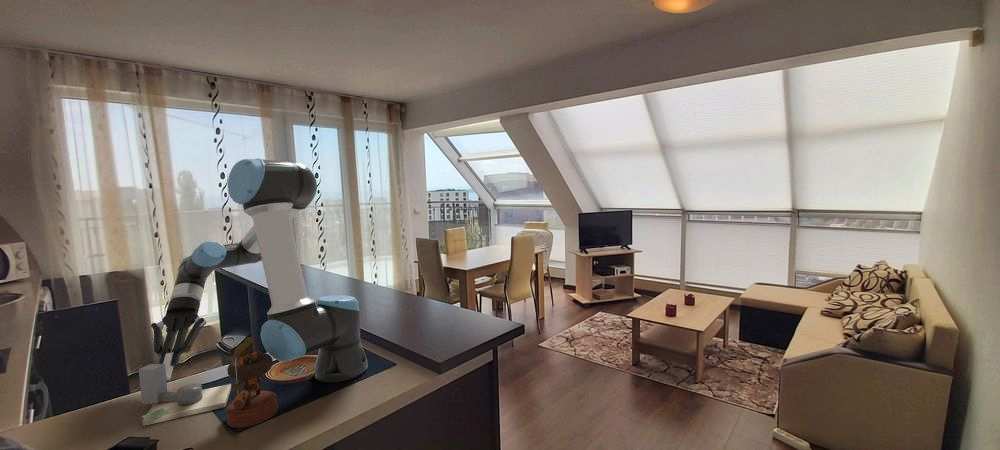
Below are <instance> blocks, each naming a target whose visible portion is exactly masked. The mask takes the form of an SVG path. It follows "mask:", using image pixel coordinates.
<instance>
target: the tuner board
mask: <svg viewBox="0 0 1000 450" xmlns="http://www.w3.org/2000/svg"><path fill="white" fill-rule="evenodd" d="M231 390H232V383H228V384H223V385H219V386H215V387H209V388H205V389H202V395H203V398H202V399H201V400H199V401H198V402H195V403H193V404H190V405H184V406H180V405H178V401H163V402H159V403H150V405H151V408H150V409H149V410H148V412H147V413H146V414H145V415H142V416H141V418H143V419H142V426H143V427H145V425H146V426H149V425H152V424H157V423H162V422H167V421H170V420H174V419H179V418H184V417H188V416H192V415H196V414H201V413H205V412H209V411H213V410H214V411H215V410H219V409H223V408H226V407H227V403H228V400H229V396H230V393H231Z"/></svg>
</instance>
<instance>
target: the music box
mask: <svg viewBox="0 0 1000 450" xmlns="http://www.w3.org/2000/svg"><path fill="white" fill-rule="evenodd" d="M256 343H257V342H256V338H254V336H249V337H246V338H245V339H244V341H243V342H242V343H240V344H238V345H236V347H235V348H233V350H232V351H231V352H230V353H229V356H227V357H226V358H224V359H223V361H224V362H226V361H228V362H230V363H229V365H228V366H227V375H228V376H229V378H231V379H232V380H235V381H237V382H235V384H233V385H231V388H232V392H237V394H236V395H235V398H234V399H233V400H232V401H231V402H230V403H229V404H228V405H226V407H225V408H226V409H225V414H226V424H227V425H228V426H229V427H231V428H237V429H238V428H239V429H240V428H249V427H251V426H255V425H258V424H260V423H263V422H265V421H267V420H268V419H270V418H271V417H273V416H274V415H275V414H276V413H277V410H278V399H277V394H275V392H273V391H269V390H261V383H260V382H261V381H262V380H263V379H264V378H265V376H264V375H265V374H267V373H268V372H269V371H270V370H271V368H272V366H273V364H274V361H273V357H272V356H271V355H270V354H269V353H268V352H267V353H266V352H256V351H253V350H254V349H255V345H256ZM252 351H253V352H252ZM251 352H252V353H251ZM242 388H243V389H242ZM240 389H242V390H240ZM239 390H240V392H239Z"/></svg>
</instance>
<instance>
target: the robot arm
mask: <svg viewBox="0 0 1000 450" xmlns="http://www.w3.org/2000/svg"><path fill="white" fill-rule="evenodd" d="M317 189H318V183H317V179H316V176H315V175H314V173H313V171H312V170H311V169H310V168H309V167H307V166H306V165H304V164H303V163H300V162H297V161H293V160H292V161H289V160H288V161H286V160H274V159H261V158H254V159H253V158H245V159H240V160H238V161H237V162H236V163H235V164H234V165H233V166H232V167H231V170H230V172H229V174H228V179H227V191H228V192H227V193H228V196H229V197H230V199H231V200H232V201H233V202H234V203H235V204H238V205H242V209H243V212H244V214H246V215H247V216H250V217H251V219H252V222H253V225H252V227H251V228H250V229H249V230H248V232H247V233H246V234H245V235H244V236H243V238H242V239H241V240H240V241H239V242H235V243H227V244H222V243H220V242H218V241H214V240H206V241H203V242H202V243H200V244H199V245H198V246H196V248H195V249H193V251H192V253H191V255H189V256H186V257H183V259H181V262H180V265H179V266H178V269H177V270H178V271H177V275H176V279H175V282H174V285H173V289H172V292H171V295H170V298H169V301H168V306H167V308H166V311H165V312H166V313H165V315H164V316H163V317H162V320H161V321H158V322H152V323H151V324H150V327H151V328H152V330H153V352H154V354H156V356H158V357H160V358H159V359H160V360H159V363H158V364H165V370H166V381H168V380H169V381H170V380H171V378H172V374H173V371H174V367H177V366H178V365H179V361H180V357H181V355H182V354H187V353H189V352H190V351H191V350H192V347H193V345H194V344H195V341H196V340H197V337H198V335H199V334H200V332H201V330H202V328H203V327H204V326H206V324H207V321H206V319H205V318H203V317H199V314H198V313H199V312H200V311H199V310H200V306H201V302H202V298H203V293H204V291H205V290H204V288H205V285H206V282H207V279H208V277H209V276H210V275H212V273H213V272H214V271H215V270H220V269H221V270H222V269H225V268H226V269H227V268H231V267H237V266H243V265H249V264H257V263H259V262H261V263H262V265H263V266H262V267H263V272H264V275H265V280H266V284H267V290H268V293H269V294H268V295H269V299H270V302H271V307H270V308H269V309H268V311H267V313H266V315H267V321H265V322H264V323H263V324H262V326H261V328H260V339H261V340H260V341H261V343H262V345H263V347H264V349H265V351H266V352H267V354H269V355H270V356H271V357H272V359H275V360H276V361H279V362H283V363H285V362H286V363H287V362H292V361H293V360H296V359H300V358H303V357H304V356H306V355H307V354H309V353H313V352H314V351H317V350H318V353H317V356H316V360H315V362H314V367H313V372H314V371H315V373H316V375H315V377H314V379H315V380H316V381H318V382H322V383H329V384H330V383H340V382H346V381H348V380H351V379H355V378H357V377H359V376H360V374H361V375H362V374H364V373H365V372H366V371H367V369H368V364H369V363H368V358H367V355H366V353H365V350H364V348H363V346H362V343H361V328H360V327H361V325H360V323H361V322H360V309H359V308H360V307H359V300H358V298H356V297H354V296H351V295H343V294H342V295H339V294H337V295H335V294H334V295H326V296H325V295H324V296H320V297H318V298H317V299H316V301H315V300H314V299H312V297H309V296H308V292H307V289H306V288H307V287H306V284H305V279H304V275H303V269H302V266H301V261H300V257H299V253H298V247H297V244H296V239H295V236H294V235H295V234H294V230H293V226H292V220H293V218H294V217H295V216H296V215H297V214H298V213H299V211H303V210H305V209H306V208H308V206H309V205H310V204H311V203H312V202H313V200H314V198H315V196H316V195H317ZM192 325H193V326H192ZM164 326H166V329H167V332H166V335H165V338H164V335H163V330H164ZM191 326H192V327H191ZM190 327H191V329H190ZM189 329H190V331H189ZM188 331H189V333H188ZM187 334H188V335H187ZM163 338H164V339H163ZM163 341H164V342H163ZM365 370H366V371H365ZM364 371H365V372H364ZM363 372H364V373H363ZM358 375H359V376H358Z"/></svg>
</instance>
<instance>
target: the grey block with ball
mask: <svg viewBox="0 0 1000 450" xmlns="http://www.w3.org/2000/svg"><path fill="white" fill-rule="evenodd" d="M138 376H139V388H140V395H141V397H140V398H141V404H152V403H159V402H163V401H178V405H180V406H184V405H190V404H193V403H195V402H198V401H199V400H201V399H202V398H203V395H202V390H203V386H202V384H201V383H197V382H196V383H191V384H186V385H184V386H182V387H179V388H178V389H177V390H176V391H169V390H168V380H166V370H165V364H159V363H149V364H147V365H145V366H143V367H140V368H139V369H138Z"/></svg>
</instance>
